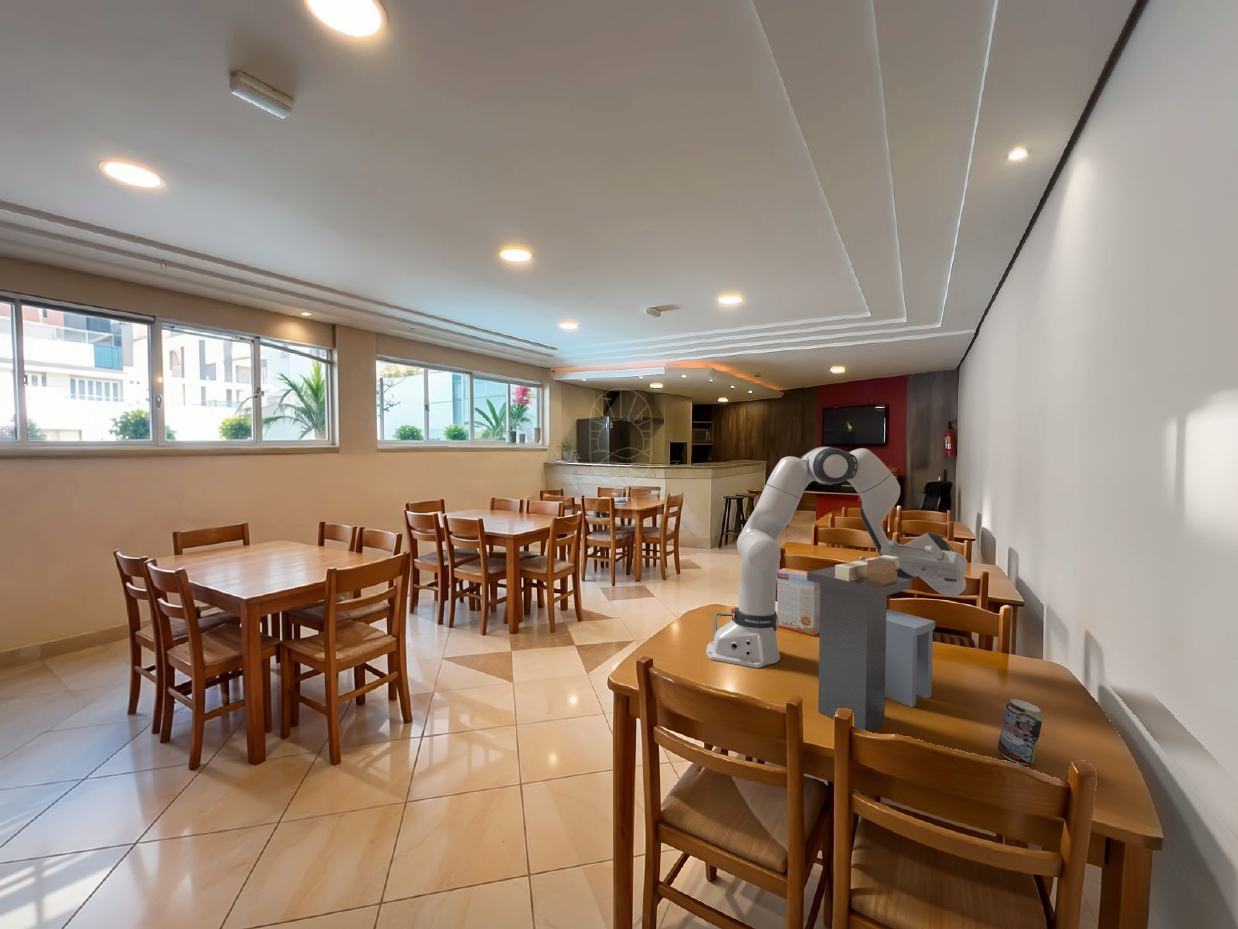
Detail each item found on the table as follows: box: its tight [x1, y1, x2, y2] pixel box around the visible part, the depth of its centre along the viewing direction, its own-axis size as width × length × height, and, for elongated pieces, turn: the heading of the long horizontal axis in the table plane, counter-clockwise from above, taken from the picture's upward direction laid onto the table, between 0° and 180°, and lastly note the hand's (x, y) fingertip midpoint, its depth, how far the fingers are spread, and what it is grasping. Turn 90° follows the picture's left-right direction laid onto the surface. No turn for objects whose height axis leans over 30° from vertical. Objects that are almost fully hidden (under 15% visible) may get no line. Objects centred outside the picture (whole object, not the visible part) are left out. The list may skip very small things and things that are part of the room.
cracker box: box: [776, 567, 820, 637], centre depth 183 cm, size 14×6×21 cm, turn 44°
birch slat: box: [834, 555, 899, 581], centre depth 126 cm, size 22×4×3 cm, turn 124°
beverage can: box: [997, 698, 1044, 766], centre depth 106 cm, size 6×7×12 cm
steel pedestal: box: [806, 558, 912, 732], centre depth 124 cm, size 14×18×39 cm
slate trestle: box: [885, 608, 936, 708], centre depth 135 cm, size 10×12×20 cm
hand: (908, 545), depth 136 cm, fingers open, 8 cm apart
